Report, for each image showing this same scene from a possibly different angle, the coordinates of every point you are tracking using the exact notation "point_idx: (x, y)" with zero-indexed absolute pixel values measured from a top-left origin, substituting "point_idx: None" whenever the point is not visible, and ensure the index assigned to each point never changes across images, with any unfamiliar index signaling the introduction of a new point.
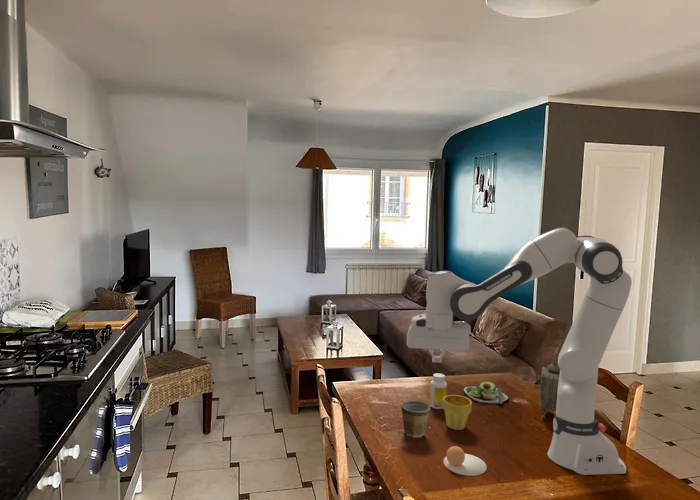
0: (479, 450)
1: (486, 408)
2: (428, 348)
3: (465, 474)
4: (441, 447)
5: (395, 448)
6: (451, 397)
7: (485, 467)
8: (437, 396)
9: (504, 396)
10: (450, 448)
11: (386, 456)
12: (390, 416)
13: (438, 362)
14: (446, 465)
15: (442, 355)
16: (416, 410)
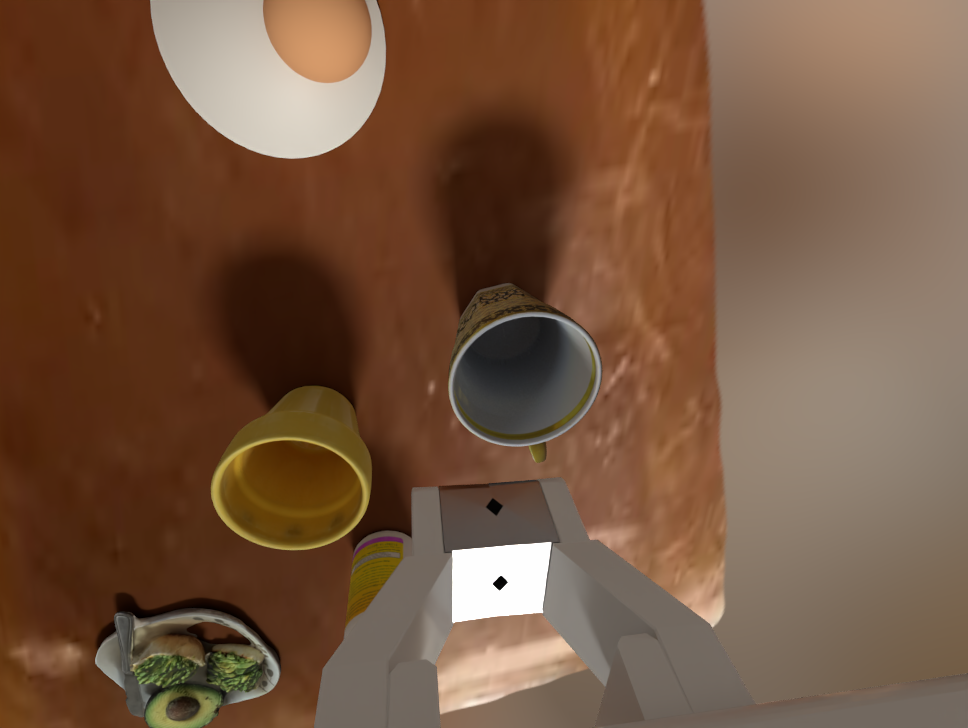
0: (201, 206)
1: (186, 574)
2: (839, 701)
3: None
4: (388, 211)
5: (601, 171)
6: (324, 532)
7: (157, 2)
8: (389, 572)
9: (112, 665)
10: (346, 21)
11: (655, 83)
12: (579, 442)
13: (461, 488)
14: (373, 5)
15: (399, 597)
16: (503, 410)
